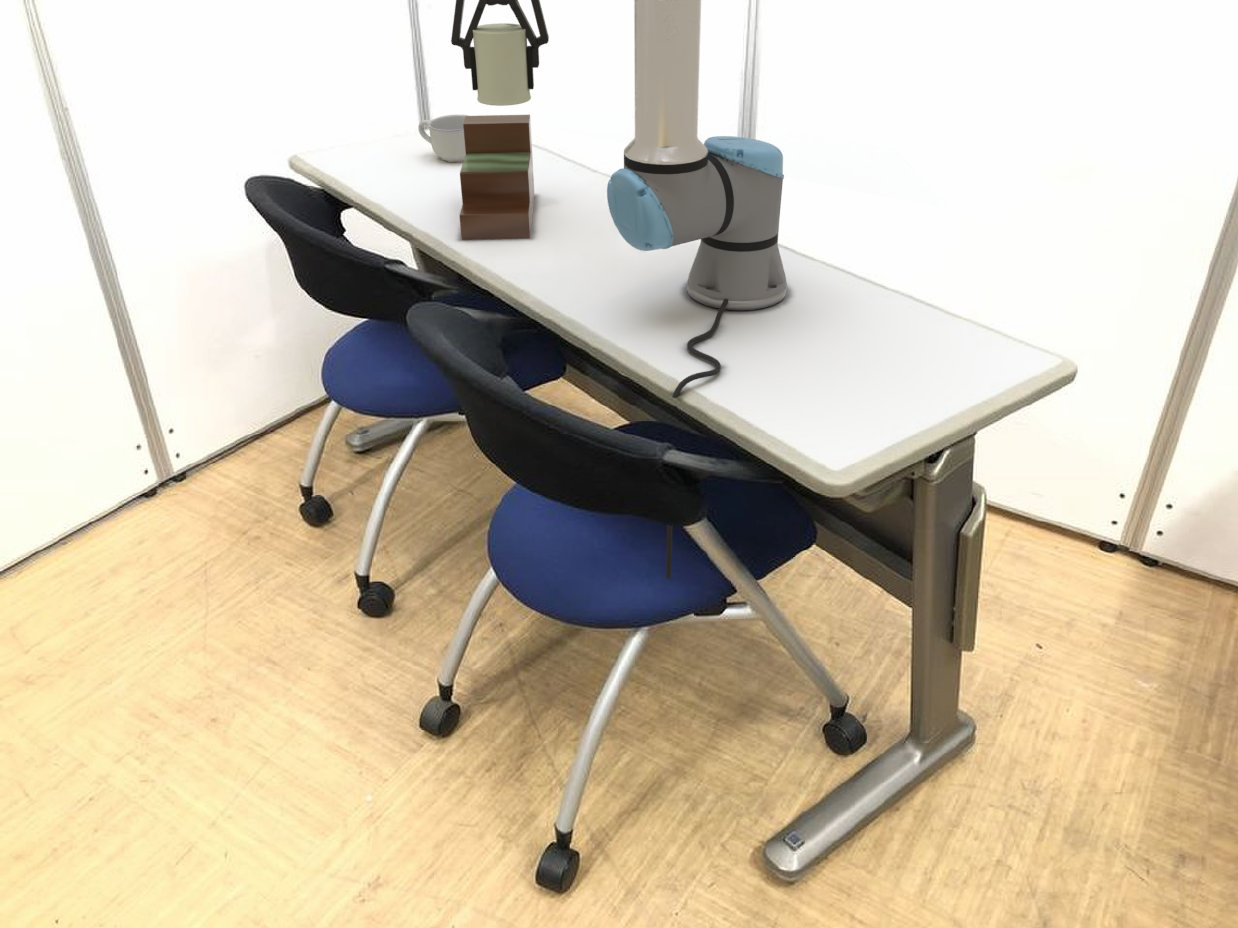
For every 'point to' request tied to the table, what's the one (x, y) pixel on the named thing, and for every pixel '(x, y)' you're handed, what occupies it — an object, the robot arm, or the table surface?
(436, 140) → the teacup
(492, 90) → the can
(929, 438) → the table surface
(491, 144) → the shelf riser
